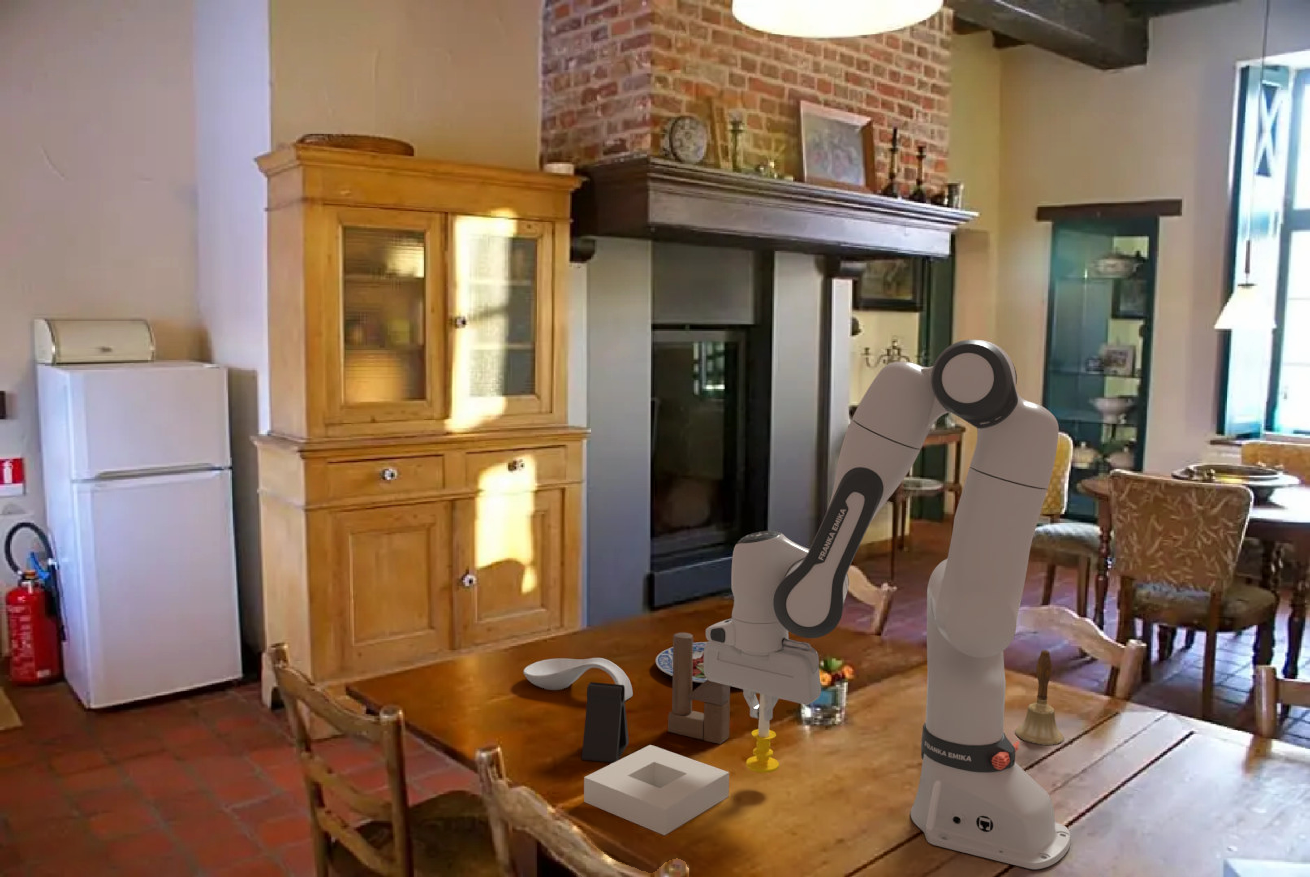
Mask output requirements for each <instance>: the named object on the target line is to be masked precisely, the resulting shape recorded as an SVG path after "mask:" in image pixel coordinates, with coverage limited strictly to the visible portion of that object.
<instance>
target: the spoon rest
mask: <svg viewBox="0 0 1310 877" xmlns="http://www.w3.org/2000/svg"><path fill="white" fill-rule="evenodd" d="M592 668H593V669H595V668H596V669H600V670H602V671H604V672H605V673H606V674H608V675H609V676H610V677H611V678H612V680H613V682H614V684H617V685H624V687H625V702H626V701H627V700H629V699H630V698H632V697H633V695H634V694H633V687H632V686H633V685H632V684H631V681H630V678H629V677H628V676H627V674H626V673H625V671H624V670H623V669H622V668H621V667H619V665H617V664H615V663H614V662H612V661H610V660H609V659H606V658H603V657H592V658H591V657H590V658H584V659H581V658H580V659H576V658H575V659H574V658H549V659H543V660H540V661H536V662H534V663H531V664H529V665H527V666H526V667H525V668H524V669H523V675H524V676H525V678H526V679H527V681H529V682H530V683H531V684H532V685H534V686H536V687H538V688H540V689H541V688H542V689H543V688H544V690H549V691H559V690H563V689H564V688H565V689H566V688H568V687H570V686H571V684H573V683H575V682H576V681H577V680H578V679H579V678H580V677H581V676H582V675H583V674H584V673H585V672H586V671H588V670H590V669H592ZM565 689H564V690H565Z"/></svg>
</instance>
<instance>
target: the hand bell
mask: <svg viewBox="0 0 1310 877" xmlns="http://www.w3.org/2000/svg"><path fill="white" fill-rule="evenodd" d="M1052 671H1053V664H1052V659H1051V655H1050V650H1046V649H1043V650H1041V651H1040V655H1039V657H1038V660H1037V662H1036V678H1037V682H1038V683H1037V684H1038V688H1037V696H1036V697H1037V699H1036V702H1033V703H1030V704H1029V705H1028V707H1027V712H1026V715H1025V718H1024V720H1023V722H1022V723H1021V724H1020V725H1018V726H1017V728H1016V729H1015V730H1014V731H1015V732H1014V733H1015V735H1016V736H1017V737H1018V738H1019V739H1021V740H1023V741H1025V742H1028V743H1031V742H1032V743H1031V744H1035V743H1037V744H1036V745H1040V744H1045V745H1044V746H1054V745H1053V744H1056V745H1059V744H1058V743H1060V742H1062V743H1063V742H1064V741H1065V737H1064V735H1063V733H1062V732H1061V731H1060V730H1059V728H1058V725H1057V723H1056V717H1055V716H1056V714H1055V712H1056V711H1055V708H1053V707H1052V706H1051V705H1049V704H1048V686H1049V682H1050V681H1051V678H1052ZM1060 744H1061V743H1060Z"/></svg>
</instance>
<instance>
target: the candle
mask: <svg viewBox="0 0 1310 877" xmlns="http://www.w3.org/2000/svg"><path fill="white" fill-rule="evenodd" d="M767 702H768V701H765V700H764V694H760V693H759V704H760V705H759V709H760V714H759V715H760V716H759V719H758V727H757V729H753V730H752V731H751V735H752V737H753V738H756V743H755V744H756V747H755V748H753V750H752V754H753V756H751V757H749V758H747V759H746V761H745V764H746V765H745V766H746V767H747V768H748V769H749V770H750V771H753V772H755V773H760V774H768V773H769V774H770V773H774V772H777V771H778V770H779V768H780V762H779V761H778V760H777V759H775V758H773V756H774V751H773V750H772V749H771V740H773V739H774V738H776V736H777V734H776V732H775V731H774V730H771V729H770V720H769V721H766V720H764V708H765V706H766V704H767Z"/></svg>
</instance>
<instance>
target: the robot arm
mask: <svg viewBox="0 0 1310 877" xmlns="http://www.w3.org/2000/svg"><path fill="white" fill-rule="evenodd" d="M1017 376H1018V375H1017V370H1016V367H1015V365H1014V363H1013V360H1012V359H1011V357H1010V356H1009V354H1008V353H1007V352H1006V351H1005V350H1004V349H1003V348H1001V347H1000V346H998V345H997V344H995V343H993V342H990V341H988V340H987V341H986V340H982V339H981V340H980V339H964V340H960V341H957V342H955V343H953V344H950V345H949V346H947V347H946V348H945V349H944V350H943V351H942V352H941V353H940V354H939V355H938V357H937V358H936V359H935V361H934V364H933V365H932V366H922V365H920V364H918V363H914V362H911V361H893V362H890V363H888V364H886V365H885V366H884V367H882V369H880V371H879V372H878V374H877V375H876V377H875V378H874V379H873V381H872V382H871V383H870V386H869V387H868V388H867V390H866V392H865V393H864V395H863V397H862V398H861V400H860V402H859V404H858V405H857V408H856V409H855V412H854V414H853V416H852V418H851V421H850V422H849V425H848V427H847V430H846V432H845V435H844V439H843V441H842V445H841V448H840V453H839V457H838V461H837V465H836V472H835V479H834V483H833V484H834V485H833V488H832V494H831V498H830V501H829V504H828V507H827V509H826V512H825V515H824V517H823V518H822V522H821V523H820V525H819V528H818V529H817V530H818V531H817V532H816V534H815V537H814V538H813V541H812V543H811V545H810V547H809V548H807V547H805V546H803V545H800V544H798V543H796V542H794V541H792V540H790V539H789V538H788V537H786V536H785V535H784V534H783V533H782V532H780V531H776V530H764V531H757V532H752V533H750V534H747V535H745V536H743V537H741V538H740V540H738V541H737V543H736V544H735V546H734V548H733V551H732V558H731V560H732V561H731V578H730V579H731V585H730V586H731V591H732V594H733V600H734V601H733V606H732V607H733V608H732V612H731V618H729V619H725V620H721V621H719V622H716V623H714V624H711V625H710V626H708V627H707V628H706V629H705V638H706V640H708V641H706V642H707V643H706V645H705V648H704V674H705V676H706V678H707V679H708V680H709V681H712V682H716V683H720V684H724V685H728V686H730V687H733V688H736V689H740V690H742V691H743V692H742V693H743V694H742V695H743V697H744V699H745V701H746V703H747V705H748V707H749V716H750V717H751V718H754V719H758V720H759V716H760V715H759V714H760V709H759V705H760V701H759V700H758V698H757V695H756V694H759V695H760V694H764V700H765V701H768V702H767V704H766V706H765V708H764V720H766V721H769V722H770V721H771V720H772V719H773V717H774V716H773V714H774V713H773V712H774V707H775V706H776V704H777V702H778V701H779V699H780V700H781V699H782V700H785V701H789V702H793V703H796V704H801V705H810V704H811V703H813V702H815V701H817V700H818V699H819V697H820V696H821V694H822V686H821V684H822V683H821V677H820V670H819V665H820V664H819V653H818V651H817V650H816V649H815V648H814V647H813V646H811V644H810V643H808V642H803V641H802V642H801V641H796V640H793V639H790V638H789V632H790V633H791V634H792V635H794V636H797V637H800V638H805V639H817V638H818V639H819V638H822V637H824V636H826V635H828V634H830V633H831V632H832V631H834V630H835V628H836V627H837V626H838V624H840V621H841V619H842V616H843V611H844V604H845V601H846V597H847V595H848V594H847V593H848V590H849V584H850V580H849V574H848V572H849V570H850V567H851V564H852V562H853V560H854V558H855V556H856V554H857V552H858V550H859V547H860V545H861V543H862V541H863V539H864V536H865V534H866V532H867V530H868V528H869V526H870V525H871V523H872V521H873V520H874V519H875V517H876V516H877V514H878V513H879V512H880V510H881V509H882V508H883V506H884V505H885V504H886V503H887V501H888V500H889V498H891V497H892V495H893V494H894V493H895V491H896V490H897V488H898V487H899V486H900V485H901V483H902V482H903V481H904V479H905V478H906V476H907V475H908V473H909V472H910V470H911V468H912V467H913V465H914V463H915V461H916V459H917V458H918V456H919V454H920V452H921V449H922V448H923V445H924V443H925V441H926V439H927V436H928V435H929V433H930V431H931V428H932V427H933V425H934V424H935V423H936V421H938V419H939V418H940V417H941V416H943V415H946V414H948V413H951V414H953V415H954V416H957V417H958V418H959V419H962V420H964V421H965V422H967V423H968V424H969V425H971V426H972V427H974V428H975V429H976V434H977V436H976V444H975V449H974V451H973V455H972V457H971V461H970V464H969V468H968V470H967V475H966V477H965V481H964V485H963V486H962V487H963V488H962V492H961V495H960V497H959V501H958V504H957V508H956V511H955V515H954V518H953V525H952V526H953V528H952V535H951V538H950V539H951V540H950V544H949V549H948V555H947V558H946V559H944V560H942V561H940V563H939V564H938V565H936V567H935V568H934V570H932V573H931V574H930V577H929V580H928V584H927V590H926V594H927V595H926V648H927V649H926V650H927V652H926V658H927V659H926V660H927V664H926V665H927V682H926V684H927V686H926V704H925V708H926V709H925V722H924V724H923V725H922V732H921V739H920V740H921V741H920V742H921V743H920V745H921V746H920V747H921V748H920V749H921V752H920V753H921V754H920V756H921V759H922V764H921V766H922V767H921V773H920V777H919V783H918V788H917V792H916V796H915V799H914V802H913V804H912V807H911V810H910V819H911V820H912V822H913V824H915V825H916V826H917V827H918V828H919V829H920V830H921V831H922V832H923V833H924V836H925V839H926V841H927V842H928V843H929V844H931V845H933V846H936V847H941V848H944V849H948V850H952V851H957V852H961V853H966V854H969V855H973V856H976V857H981V858H985V859H989V860H993V861H996V862H1002V863H1005V864H1010V865H1013V866H1017V867H1021V868H1026V869H1028V870H1029V869H1030V870H1040V869H1045V868H1048V867H1051V866H1053V865H1054V864H1056V863H1058V862H1059V861H1060V860H1061V859H1062V858H1063V857H1064V856H1065V855H1066V854H1067V852H1068V851H1069V849H1070V847H1071V833H1070V830H1069V828H1067V826H1065V825H1064V824H1061V823H1059V822H1057V821H1056V820H1055V819H1056V818H1055V810H1054V804H1053V801H1052V798H1051V796H1050V795H1049V793H1048V791H1046V790H1045V789H1044V788H1043V787H1042V786H1041V785H1040V784H1039V783H1037V781H1035V779H1033V778H1032V777H1031V776H1030V774H1028V773H1027V772H1026V771H1025V770H1024V769H1023V768H1022V767H1021V766H1020V765H1019V764H1018V763H1017V762H1016V752H1018V750H1019V744H1020V741H1019V740H1016V741H1015V743H1012V742H1011V741H1010V740H1009V739H1008V737H1007V735H1006V733H1005V732H1004V725H1005V724H1004V723H1005V707H1006V706H1005V705H1006V704H1005V703H1006V702H1005V700H1006V688H1007V687H1006V686H1007V684H1006V675H1005V662H1004V659H1005V658H1004V650H1006V649H1007V648H1008V647H1009V646H1010V645H1011V643H1012V642H1013V640H1014V638H1015V636H1016V631H1017V626H1018V616H1019V611H1020V607H1021V602H1022V598H1023V592H1024V588H1025V582H1026V576H1027V572H1028V565H1029V558H1030V551H1031V547H1032V543H1033V542H1032V541H1033V538H1034V534H1035V531H1036V528H1037V525H1038V523H1039V518H1040V516H1041V512H1042V508H1043V505H1044V502H1045V498H1046V496H1047V492H1048V488H1049V487H1050V482H1051V479H1052V475H1053V470H1054V467H1055V462H1056V456H1057V448H1058V441H1059V433H1060V432H1059V431H1060V428H1059V423H1058V420H1057V419H1056V417H1055V415H1054V414H1052V412H1051V411H1049V410H1048V409H1047V408H1045V407H1044V406H1043V405H1041V404H1038V403H1036V402H1033V401H1029V400H1026V399H1024V398H1023V397H1022V396H1020V394H1019V392H1018V389H1017V383H1018V382H1017V381H1018V377H1017Z"/></svg>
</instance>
